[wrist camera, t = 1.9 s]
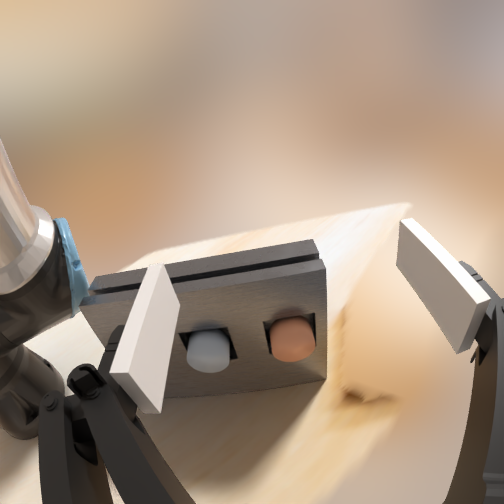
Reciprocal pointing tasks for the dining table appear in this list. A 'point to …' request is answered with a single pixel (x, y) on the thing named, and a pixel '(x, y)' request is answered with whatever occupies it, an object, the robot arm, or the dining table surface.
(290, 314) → the button panel
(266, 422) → the dining table surface
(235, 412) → the dining table surface
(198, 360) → the grey dome button
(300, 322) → the terracotta button
